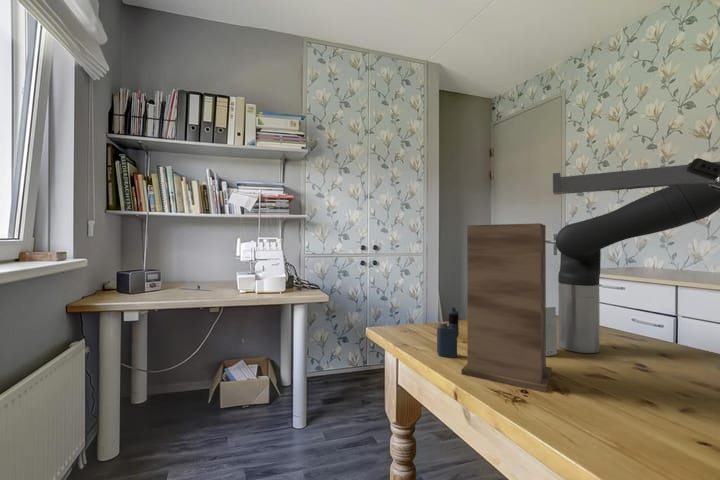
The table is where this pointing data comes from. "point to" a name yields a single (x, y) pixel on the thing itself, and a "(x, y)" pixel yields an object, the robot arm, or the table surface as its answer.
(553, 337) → the skincare box
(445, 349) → the vaping device
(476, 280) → the stand
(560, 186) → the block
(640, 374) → the table surface
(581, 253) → the robot arm
